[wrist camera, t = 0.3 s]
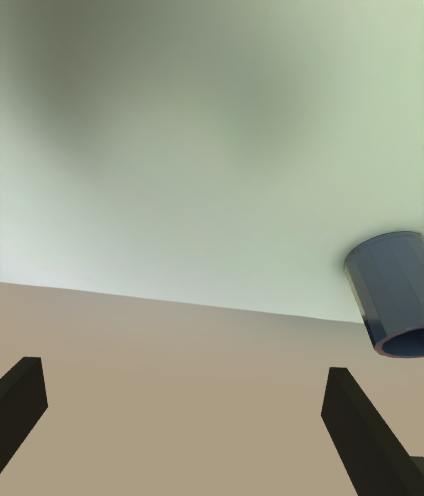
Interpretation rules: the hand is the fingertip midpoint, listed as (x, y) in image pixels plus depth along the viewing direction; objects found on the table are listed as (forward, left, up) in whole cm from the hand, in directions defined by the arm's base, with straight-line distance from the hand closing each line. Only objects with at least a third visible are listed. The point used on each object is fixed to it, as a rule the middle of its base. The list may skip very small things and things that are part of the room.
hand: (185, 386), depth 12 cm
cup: (+9, +22, -17) cm, 29 cm away
